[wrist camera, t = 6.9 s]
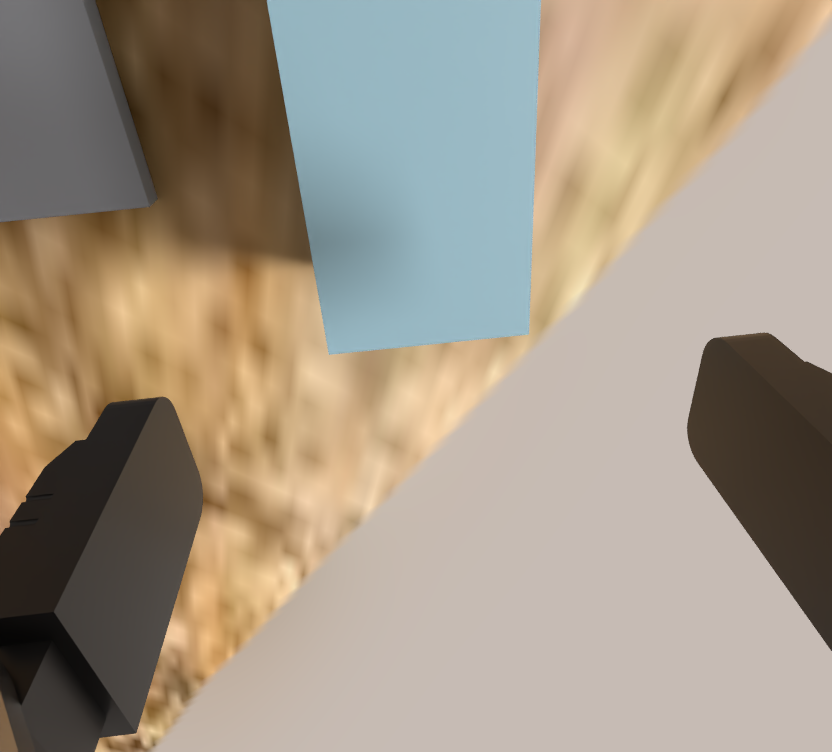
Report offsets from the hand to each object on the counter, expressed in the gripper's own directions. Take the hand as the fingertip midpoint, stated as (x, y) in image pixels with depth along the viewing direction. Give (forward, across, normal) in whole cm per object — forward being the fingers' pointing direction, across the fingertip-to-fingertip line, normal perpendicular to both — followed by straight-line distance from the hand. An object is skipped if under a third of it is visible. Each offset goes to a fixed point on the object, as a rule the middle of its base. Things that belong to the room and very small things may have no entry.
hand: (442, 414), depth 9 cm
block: (+12, 0, -4) cm, 12 cm away
